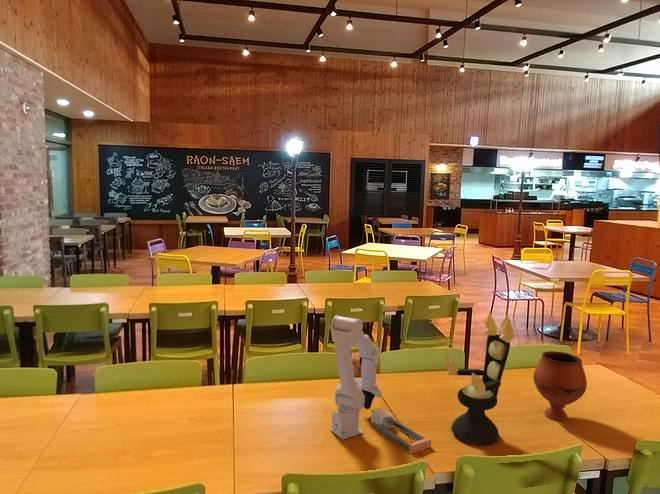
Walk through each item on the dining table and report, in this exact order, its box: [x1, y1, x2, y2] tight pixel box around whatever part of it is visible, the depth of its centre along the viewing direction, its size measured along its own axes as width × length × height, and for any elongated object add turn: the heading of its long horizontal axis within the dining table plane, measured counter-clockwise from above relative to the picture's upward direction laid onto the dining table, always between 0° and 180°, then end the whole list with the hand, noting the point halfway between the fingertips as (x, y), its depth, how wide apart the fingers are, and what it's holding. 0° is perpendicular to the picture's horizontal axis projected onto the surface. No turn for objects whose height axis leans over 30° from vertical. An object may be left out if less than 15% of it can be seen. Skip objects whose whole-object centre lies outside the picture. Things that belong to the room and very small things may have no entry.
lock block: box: [370, 407, 395, 430], centre depth 193 cm, size 5×7×5 cm
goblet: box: [533, 350, 588, 422], centre depth 203 cm, size 19×19×25 cm
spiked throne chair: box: [444, 312, 515, 446], centre depth 186 cm, size 19×22×45 cm
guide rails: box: [375, 418, 432, 454], centre depth 183 cm, size 9×20×3 cm, turn 33°
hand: (367, 408), depth 200 cm, fingers closed
